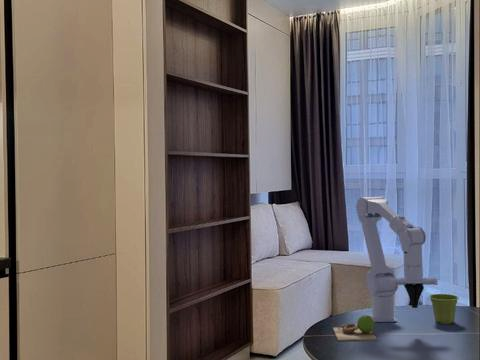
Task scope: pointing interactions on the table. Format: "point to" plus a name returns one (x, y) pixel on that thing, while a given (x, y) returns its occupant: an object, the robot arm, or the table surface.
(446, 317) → the plant pot
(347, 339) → the cork mat
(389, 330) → the table surface
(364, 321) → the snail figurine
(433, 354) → the table surface
